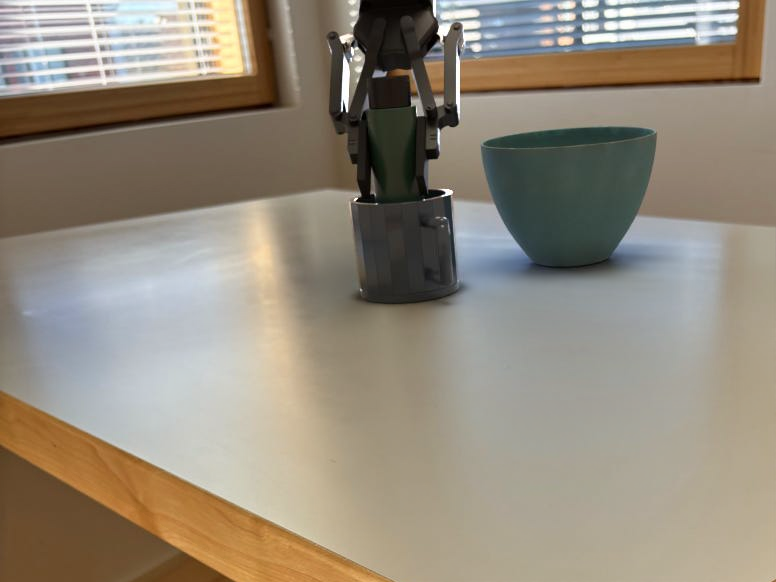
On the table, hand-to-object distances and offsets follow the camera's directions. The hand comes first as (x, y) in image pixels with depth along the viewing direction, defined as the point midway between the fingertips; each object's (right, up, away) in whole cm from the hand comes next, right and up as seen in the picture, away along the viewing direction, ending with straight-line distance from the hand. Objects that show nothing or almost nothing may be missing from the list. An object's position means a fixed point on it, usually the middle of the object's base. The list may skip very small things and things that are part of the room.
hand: (392, 187), depth 96 cm
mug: (+2, -8, +7) cm, 11 cm away
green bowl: (+18, -1, +17) cm, 25 cm away
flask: (+1, -2, +5) cm, 6 cm away
